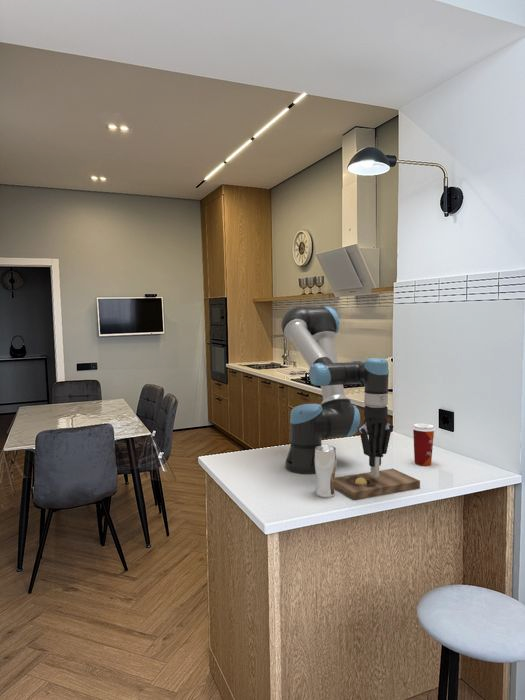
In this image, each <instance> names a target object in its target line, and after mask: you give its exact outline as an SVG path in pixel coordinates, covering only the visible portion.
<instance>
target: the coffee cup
mask: <svg viewBox="0 0 525 700" xmlns="http://www.w3.org/2000/svg"><path fill="white" fill-rule="evenodd" d="M412 430H413V455H414V464H415V465H417V466H419V467H430V466H431V465H432V461H433V460H432V458H433V446H434V434H435V431H436V428H435V426H434V425H433V424H430V423H423V422H420V423H419V422H418V423H414V424H413V426H412Z"/></svg>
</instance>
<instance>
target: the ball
mask: <svg viewBox="0 0 525 700" xmlns="http://www.w3.org/2000/svg"><path fill="white" fill-rule="evenodd" d="M355 483H356V484H360V485H367V481H366V480H365V479H364V478H362V477H359V478H357V479H356V480H355Z"/></svg>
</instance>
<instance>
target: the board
mask: <svg viewBox="0 0 525 700" xmlns="http://www.w3.org/2000/svg"><path fill="white" fill-rule="evenodd" d="M359 477H362V478H364V479H365V480H366V481H367V485H360V484H356V483H355V480H356V479H357V478H359ZM420 488H421V480H419V479H418V478H415V477H412V476H410V475H408V474H406V473H404V472H402V471H399V470H397V469H395V468H388V469H381V470H380V469H379V477H374V476H372V475H371V471H370V472H369V471H368V472H362V473H356V474H351V475H344V476H339V477H337V476H336V477H334V490H336V491H337V492H339V493H341V494H343V495H345V496H346V497H347V498H350V499H351V500H353V501H357V500H362V499H363V500H364V499H368V498H374V497H380V496H386V495H390V494H396V493H401V492H406V491H412V490H418V489H420Z"/></svg>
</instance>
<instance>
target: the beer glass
mask: <svg viewBox="0 0 525 700" xmlns="http://www.w3.org/2000/svg"><path fill="white" fill-rule="evenodd" d="M314 464H315V472H316V473H315V477H316V489H315V495H316V496H317V497H320V498H325V499H327V498H332V497H334V496H335V494H336V492H335V489H334V478H335V475H336V470H337V449H336V447H335V446H333V445H325V444H324V445H323V444H322V445H321V446H317V447H315V458H314Z"/></svg>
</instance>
